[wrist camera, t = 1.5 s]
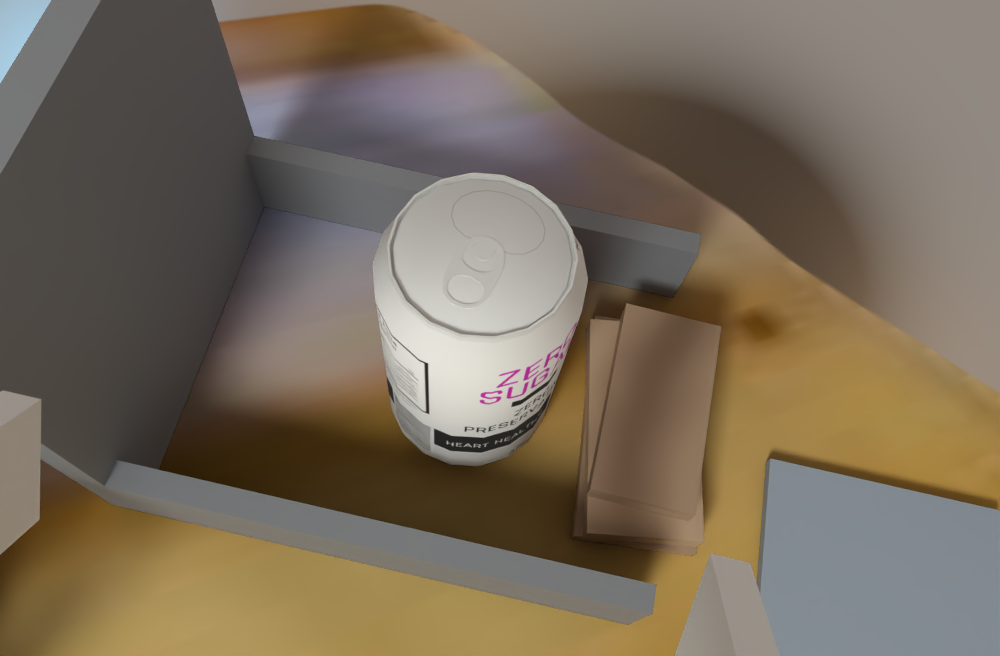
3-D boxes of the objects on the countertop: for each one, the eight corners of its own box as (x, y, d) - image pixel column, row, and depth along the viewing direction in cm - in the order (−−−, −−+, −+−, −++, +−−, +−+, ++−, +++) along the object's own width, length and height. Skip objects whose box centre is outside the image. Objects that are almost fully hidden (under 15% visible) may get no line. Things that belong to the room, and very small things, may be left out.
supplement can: (429, 302, 46) (426, 130, 32) (567, 358, 45) (624, 206, 32) (363, 431, 43) (329, 300, 29) (511, 494, 42) (548, 390, 28)
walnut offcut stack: (700, 341, 47) (721, 311, 43) (693, 559, 41) (717, 545, 38) (584, 324, 46) (595, 292, 43) (562, 540, 41) (574, 524, 38)
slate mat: (993, 512, 43) (1000, 510, 43) (1004, 768, 38) (1012, 769, 38) (766, 461, 43) (770, 458, 43) (747, 707, 38) (751, 707, 38)
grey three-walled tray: (675, 279, 48) (823, 14, 30) (627, 624, 40) (790, 552, 21) (246, 184, 48) (132, -132, 30) (111, 504, 40) (-154, 335, 22)
